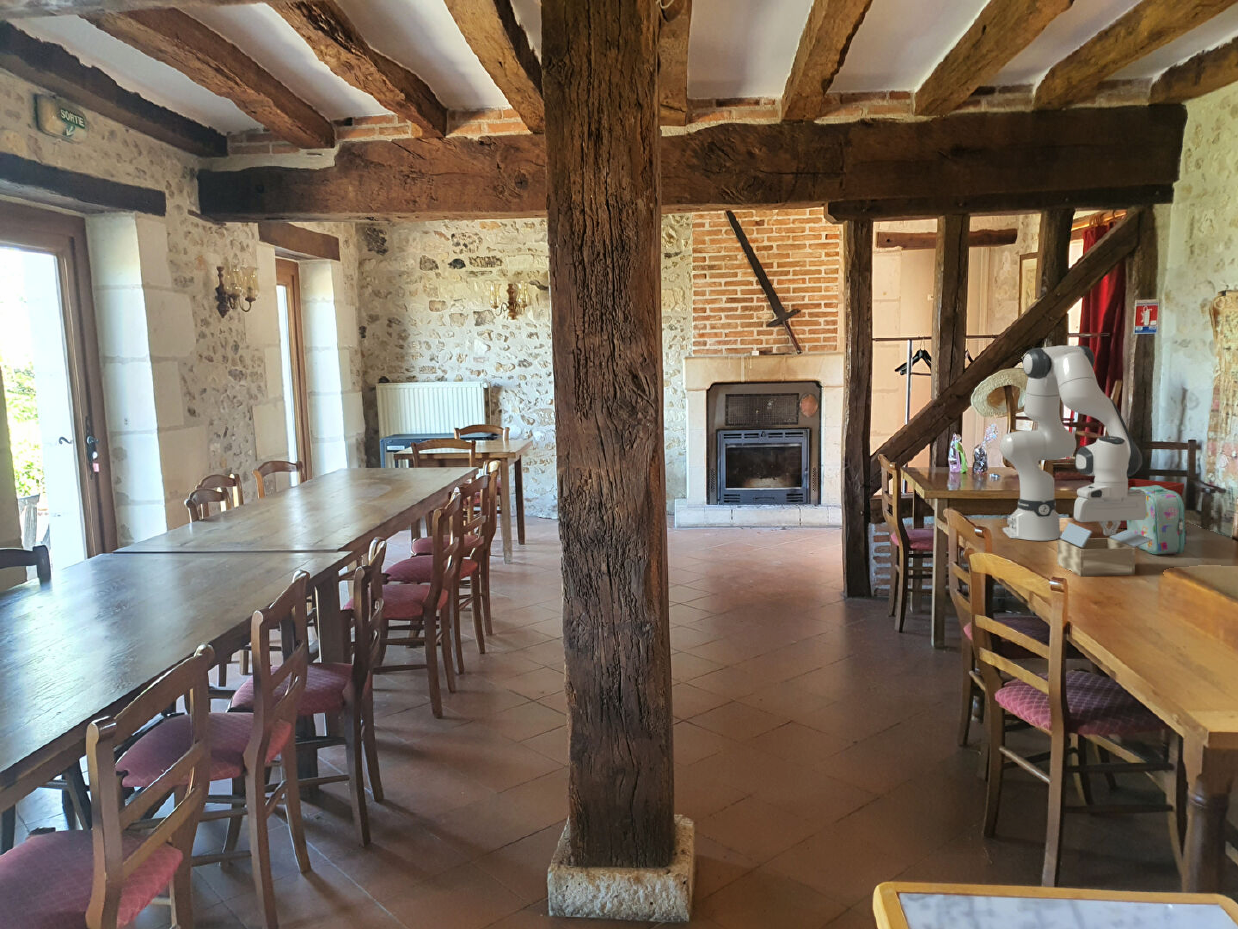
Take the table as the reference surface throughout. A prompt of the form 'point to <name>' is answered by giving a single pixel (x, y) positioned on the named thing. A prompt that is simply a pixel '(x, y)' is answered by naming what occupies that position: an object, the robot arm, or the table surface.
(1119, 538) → the flap
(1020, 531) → the robot arm
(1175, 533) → the lunch box
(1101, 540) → the crate
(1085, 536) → the flap
